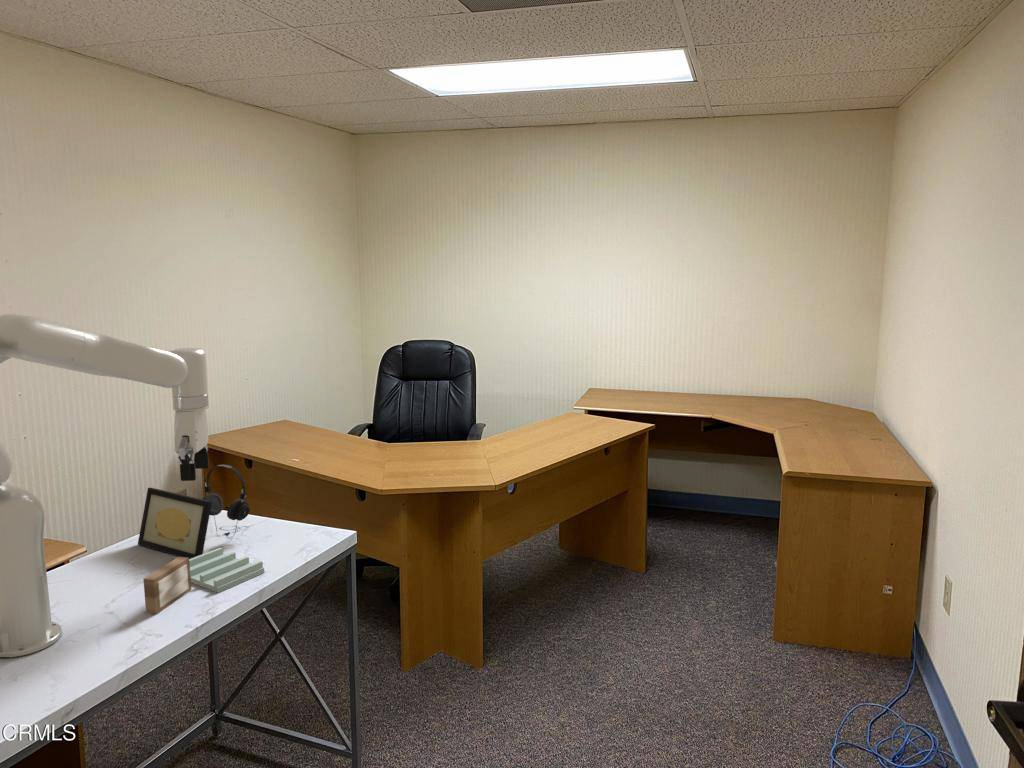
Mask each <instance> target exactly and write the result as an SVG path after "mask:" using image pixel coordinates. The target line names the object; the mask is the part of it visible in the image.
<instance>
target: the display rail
mask: <svg viewBox="0 0 1024 768" xmlns="http://www.w3.org/2000/svg"><path fill="white" fill-rule="evenodd" d="M223 549H224V548H223V547H219V548H216V549H213V550H210V551H207V552H205V553H203V554H202V555H199V556H197V557H194V558H191V559H189V563H190V577H191V584H195V585H197V586H200V587H202V588H205V589H207V590H210V591H213V592H215V593H218V594H219V593H221V592H223V591H226V590H228V589H231V588H232V587H235V586H238V585H239V584H242V583H244V582H246V581H248V580H251V579H253V578H255V577H258V576H260V575H262V574H264V573H265V567H264V565H263V561H261V560H257V561H255V562H253V563H250V557H249V556H244V557H241V558H239V559H238V558H237V555H236V552H235V551H231V552H229V553H226V554H224V550H223Z"/></svg>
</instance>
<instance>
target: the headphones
mask: <svg viewBox="0 0 1024 768" xmlns="http://www.w3.org/2000/svg"><path fill="white" fill-rule="evenodd" d="M219 467H220V468H225V469H227V470H230V471H231V472H233V473H234V474H235V475H236V476H237V477H238V479H239V480H240V483H241V492H240V496H239V497H240V498H237V499H235V500H233V501H232V503H230V505H229V506H228V507H227V511H226V516H227V518H228V520H232V521H237V522H236V525H235V529H236V528H237V529H238V527H237V526H238V522H241V521H242V520H244V519H246V518H247V517H248V515H249V514H250V511H251V507H250V505H249V504H248V503H247V501H246V499H248V492H247V489H246V488H247V487H246V484H245V483H246V482H245V480H244V478H243V476H242V474H241V472H240V471H239V470H238V469H237V468H236V467H234V466H232V465H230V464H218V465H216V466H213V467H211V468H210V469H209V470H208V473H207V477H206V478H203V479H204V484H205V485H204V492H205V493H206V495H205V496H204V497H203V498H202V499H203V500H207V501H212V504H211V510H210V516H213V519H216V518H215V516H218V515H219V514H220V513H221V512H222V511H223V508H224V501H223V498H222V497H221V495H219V494H218V493H216V492H212V486H211V485H209V484H210V477H211V473H212V472H213V471H214V469H216V468H219ZM210 492H211V493H210ZM214 524H215V530H216V531H218V527H217V523H216V521H214ZM230 532H231V531H229V532H224V534H228V535H230V534H231V533H230ZM236 532H237V530H235V532H233V535H231V538H232V537H234V536H235V534H236ZM229 533H230V534H229ZM224 534H222V536H225V535H224ZM216 536H217V537H219V535H218V534H216Z"/></svg>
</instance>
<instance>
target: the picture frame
mask: <svg viewBox="0 0 1024 768" xmlns="http://www.w3.org/2000/svg"><path fill="white" fill-rule="evenodd" d="M211 504H212V501H207V500H203V498H198V497H194V496H190V495H186V494H180V493H177V492H174V491H167V490H164V489H159V488H155V487H148V488H147V492H146V496H145V503H144V508H143V512H142V519H141V522H140V523H141V524H140V525H141V526H140V530H139V536H138V541H137V545H138V546H142V547H146V548H149V549H153V550H155V551H160V552H163V553H167V554H170V555H174V556H178V557H187V558H189V559H191V558H194V557H197V556H199V555H202V554H204V551H205V550H204V549H205V543H206V537H207V533H208V526H209V520H210V516H211V515H210V510H211Z"/></svg>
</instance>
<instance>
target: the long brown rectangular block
mask: <svg viewBox="0 0 1024 768" xmlns="http://www.w3.org/2000/svg"><path fill="white" fill-rule="evenodd" d="M142 579H143V589H144V590H143V593H144V601H145V602H144V603H145V613H146V614H147V613H148V614H149V615H155V614H156V615H158V614H159V613H161V612H162V611H164V610H165V609H167V608H168V607H169V606H171V605H173V604H174V603H175V602H176V601H178V600H180V599H181V598H183V597H185V595H187V594H188V593H190V592H191V591H192V583H191V577H190V563H189V558H187V557H180V556H178V557H177V558H175V559H173V560H172V561H170V562H168V563H167V564H165V565H163V566H161V567H160V568H158V569H157V570H155V571H154V572H152V573H151V574H149V575H147V576H145V577H144V578H142Z"/></svg>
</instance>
